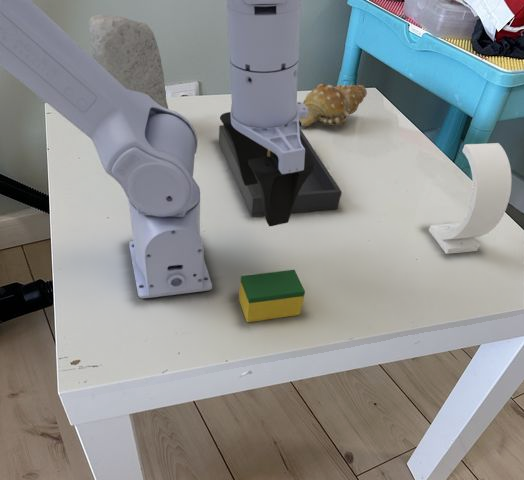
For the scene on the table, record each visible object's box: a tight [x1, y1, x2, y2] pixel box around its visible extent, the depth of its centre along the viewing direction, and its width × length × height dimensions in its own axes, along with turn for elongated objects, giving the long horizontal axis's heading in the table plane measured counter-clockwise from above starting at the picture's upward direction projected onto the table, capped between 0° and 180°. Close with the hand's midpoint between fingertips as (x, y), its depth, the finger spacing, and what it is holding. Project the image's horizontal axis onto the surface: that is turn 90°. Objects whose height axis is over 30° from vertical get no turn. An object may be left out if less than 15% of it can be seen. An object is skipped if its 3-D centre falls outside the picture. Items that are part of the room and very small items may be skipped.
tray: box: [218, 124, 343, 217], centre depth 71 cm, size 19×12×3 cm, turn 16°
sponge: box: [238, 269, 306, 323], centre depth 53 cm, size 6×4×4 cm, turn 106°
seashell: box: [299, 83, 368, 128], centre depth 83 cm, size 9×8×10 cm
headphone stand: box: [428, 142, 512, 255], centre depth 61 cm, size 5×6×12 cm
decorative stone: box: [88, 14, 169, 109], centre depth 71 cm, size 11×6×15 cm, turn 131°
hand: (264, 201), depth 52 cm, fingers open, 7 cm apart
